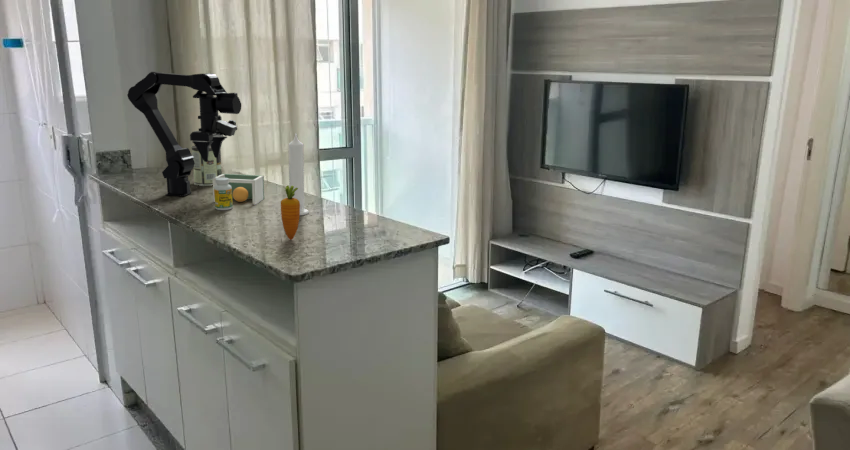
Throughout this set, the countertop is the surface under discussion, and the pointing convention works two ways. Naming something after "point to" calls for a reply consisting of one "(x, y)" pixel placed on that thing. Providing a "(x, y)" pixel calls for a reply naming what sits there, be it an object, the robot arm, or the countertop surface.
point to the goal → (245, 185)
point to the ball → (240, 194)
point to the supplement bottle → (223, 194)
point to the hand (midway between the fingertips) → (211, 159)
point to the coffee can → (205, 167)
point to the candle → (297, 171)
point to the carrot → (290, 212)
